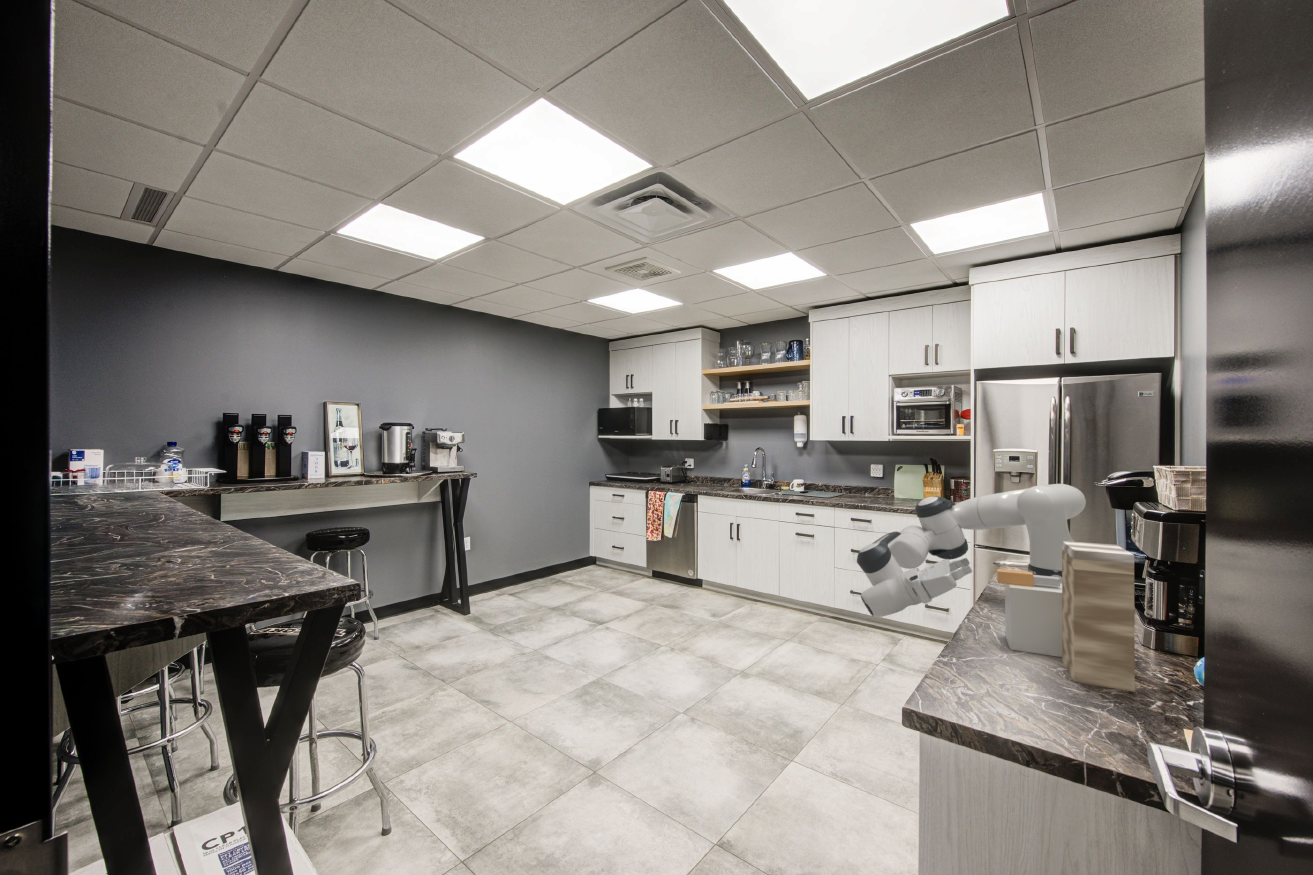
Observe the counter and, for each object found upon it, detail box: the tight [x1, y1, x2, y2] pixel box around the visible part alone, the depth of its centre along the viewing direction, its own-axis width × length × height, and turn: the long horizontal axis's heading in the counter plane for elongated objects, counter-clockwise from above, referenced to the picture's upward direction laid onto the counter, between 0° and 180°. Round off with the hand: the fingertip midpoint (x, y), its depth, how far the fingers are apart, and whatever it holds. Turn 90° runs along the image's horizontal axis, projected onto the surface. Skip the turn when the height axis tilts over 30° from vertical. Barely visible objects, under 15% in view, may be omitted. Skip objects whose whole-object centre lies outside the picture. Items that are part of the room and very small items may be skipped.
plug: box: [996, 568, 1060, 587], centre depth 136 cm, size 3×13×3 cm, turn 63°
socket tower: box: [1061, 541, 1136, 693], centre depth 119 cm, size 12×10×28 cm
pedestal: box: [1004, 584, 1062, 658], centre depth 135 cm, size 10×14×16 cm
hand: (969, 564), depth 142 cm, fingers open, 8 cm apart
